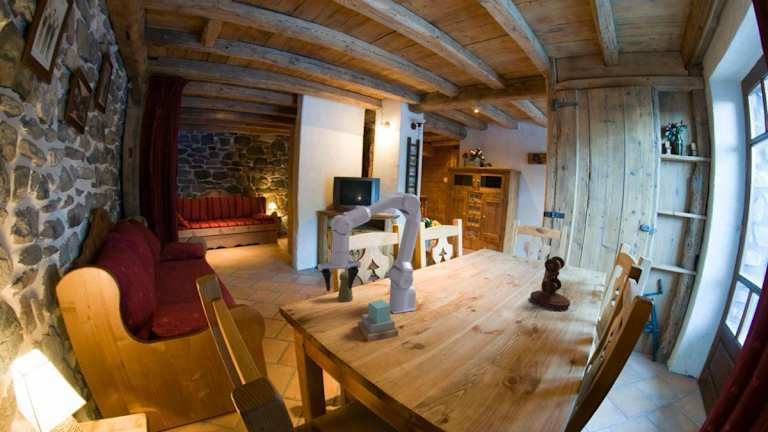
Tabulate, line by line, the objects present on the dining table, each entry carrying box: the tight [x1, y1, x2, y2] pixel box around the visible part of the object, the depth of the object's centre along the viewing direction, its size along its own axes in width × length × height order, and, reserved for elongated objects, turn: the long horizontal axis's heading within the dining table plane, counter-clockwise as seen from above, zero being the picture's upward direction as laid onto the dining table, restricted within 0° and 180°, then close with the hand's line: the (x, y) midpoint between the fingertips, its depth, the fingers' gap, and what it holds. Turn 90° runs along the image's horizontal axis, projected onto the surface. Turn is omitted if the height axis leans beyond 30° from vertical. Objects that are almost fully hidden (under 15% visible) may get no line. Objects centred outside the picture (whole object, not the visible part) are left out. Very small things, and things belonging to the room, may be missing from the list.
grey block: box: [361, 313, 396, 334], centre depth 98 cm, size 8×8×2 cm
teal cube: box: [367, 299, 391, 324], centre depth 97 cm, size 5×5×5 cm
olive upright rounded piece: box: [337, 271, 354, 303], centre depth 121 cm, size 6×6×11 cm
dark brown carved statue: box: [530, 255, 571, 312], centre depth 126 cm, size 15×15×20 cm
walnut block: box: [357, 319, 399, 342], centre depth 98 cm, size 10×10×2 cm
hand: (339, 289), depth 104 cm, fingers open, 7 cm apart
